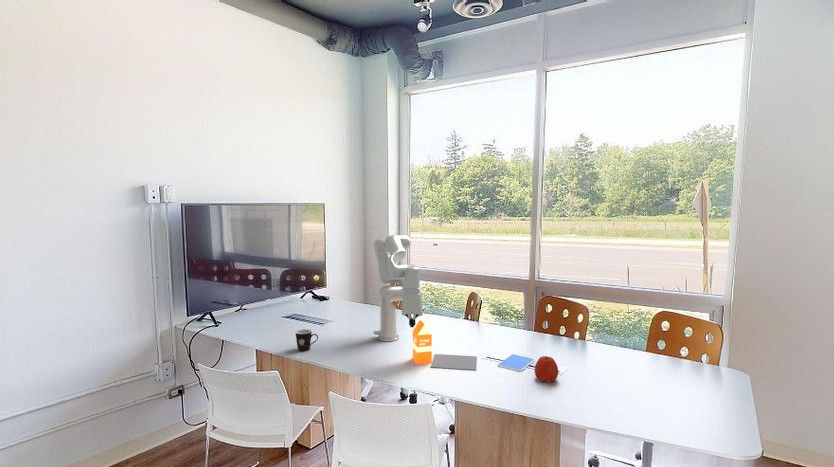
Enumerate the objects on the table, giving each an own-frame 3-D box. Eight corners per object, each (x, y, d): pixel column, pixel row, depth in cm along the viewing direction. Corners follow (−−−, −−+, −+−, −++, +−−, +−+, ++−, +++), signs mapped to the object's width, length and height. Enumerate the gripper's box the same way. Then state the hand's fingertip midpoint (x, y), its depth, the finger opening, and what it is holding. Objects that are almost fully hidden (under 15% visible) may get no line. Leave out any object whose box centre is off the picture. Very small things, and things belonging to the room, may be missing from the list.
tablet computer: (512, 355, 216) (512, 353, 216) (535, 361, 209) (535, 358, 209) (496, 367, 200) (496, 364, 200) (520, 373, 193) (520, 370, 193)
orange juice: (416, 364, 203) (416, 324, 202) (412, 358, 211) (412, 320, 210) (432, 362, 205) (432, 323, 204) (426, 356, 213) (426, 318, 212)
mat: (430, 367, 198) (430, 366, 198) (434, 354, 216) (434, 354, 216) (476, 370, 195) (476, 369, 195) (476, 357, 213) (476, 356, 213)
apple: (553, 374, 190) (553, 352, 190) (561, 384, 180) (562, 360, 179) (531, 374, 190) (531, 352, 189) (538, 384, 180) (539, 361, 179)
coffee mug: (292, 350, 222) (291, 332, 222) (303, 346, 230) (303, 328, 229) (308, 354, 217) (308, 335, 216) (319, 349, 224) (319, 331, 224)
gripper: (396, 292, 204) (396, 328, 205) (425, 293, 202) (425, 329, 203) (399, 289, 212) (399, 324, 213) (427, 290, 209) (427, 325, 210)
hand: (412, 326), depth 208 cm, fingers closed
